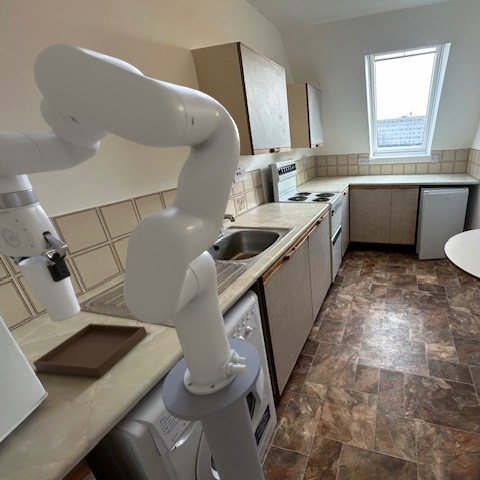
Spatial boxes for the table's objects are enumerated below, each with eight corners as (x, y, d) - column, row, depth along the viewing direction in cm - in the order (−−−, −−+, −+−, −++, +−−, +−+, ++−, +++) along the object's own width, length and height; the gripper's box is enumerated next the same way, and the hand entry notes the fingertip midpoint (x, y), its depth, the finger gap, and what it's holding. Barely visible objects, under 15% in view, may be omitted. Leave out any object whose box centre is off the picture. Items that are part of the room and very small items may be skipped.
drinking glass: (54, 327, 59) (23, 267, 54) (43, 320, 62) (12, 262, 57) (90, 310, 64) (65, 254, 59) (78, 304, 68) (52, 250, 62)
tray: (147, 334, 79) (144, 326, 78) (100, 377, 65) (96, 368, 64) (93, 330, 82) (89, 323, 81) (37, 370, 68) (32, 362, 67)
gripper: (-49, 206, 51) (-3, 286, 58) (23, 204, 49) (64, 288, 55) (0, 198, 58) (36, 270, 65) (65, 195, 55) (97, 271, 62)
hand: (48, 278), depth 60 cm, fingers closed on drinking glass, 6 cm apart
